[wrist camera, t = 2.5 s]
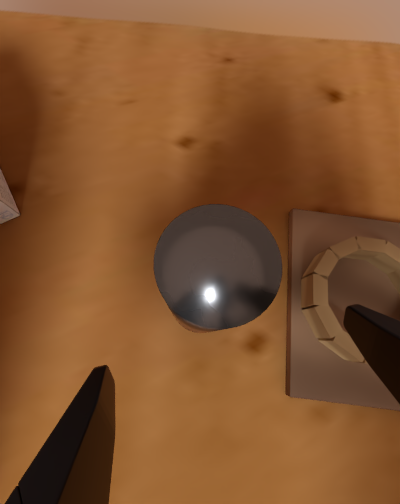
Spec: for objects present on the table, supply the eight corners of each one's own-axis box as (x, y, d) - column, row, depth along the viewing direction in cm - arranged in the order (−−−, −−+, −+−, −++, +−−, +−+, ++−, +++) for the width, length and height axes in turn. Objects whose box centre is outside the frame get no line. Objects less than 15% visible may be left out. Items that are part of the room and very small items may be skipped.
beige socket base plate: (427, 412, 18) (468, 425, 16) (285, 394, 18) (302, 404, 15) (403, 228, 23) (433, 213, 20) (289, 212, 22) (303, 196, 20)
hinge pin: (242, 291, 20) (302, 242, 10) (212, 345, 19) (245, 356, 8) (191, 260, 21) (196, 183, 10) (158, 311, 19) (127, 282, 9)
